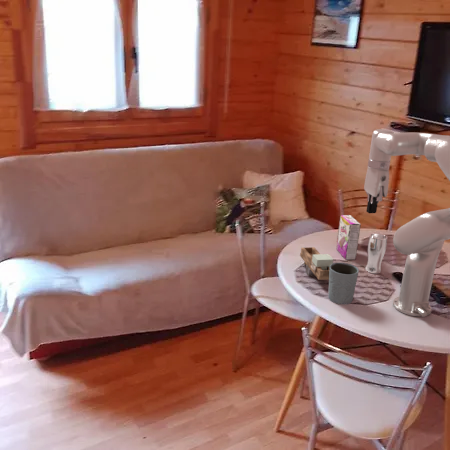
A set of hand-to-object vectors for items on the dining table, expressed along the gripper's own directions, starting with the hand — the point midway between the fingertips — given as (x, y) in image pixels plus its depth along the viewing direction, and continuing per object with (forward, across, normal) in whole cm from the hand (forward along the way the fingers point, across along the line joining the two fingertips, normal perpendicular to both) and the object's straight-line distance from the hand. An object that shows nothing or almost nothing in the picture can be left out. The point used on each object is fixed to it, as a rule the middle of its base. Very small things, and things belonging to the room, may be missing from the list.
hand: (371, 212), depth 185 cm
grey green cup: (+27, -15, +15) cm, 35 cm away
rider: (+22, 0, +17) cm, 28 cm away
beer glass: (+27, +6, -8) cm, 29 cm away
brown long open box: (+27, +5, +17) cm, 32 cm away
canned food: (+27, +34, -8) cm, 44 cm away
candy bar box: (+27, +22, -3) cm, 35 cm away
